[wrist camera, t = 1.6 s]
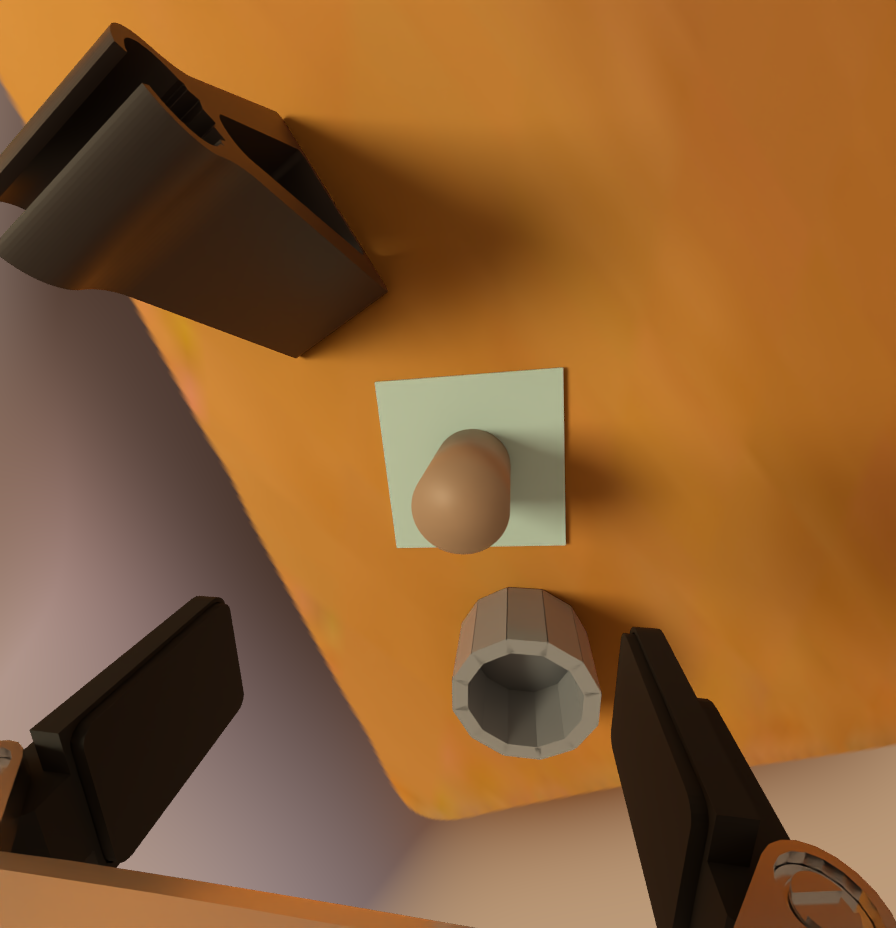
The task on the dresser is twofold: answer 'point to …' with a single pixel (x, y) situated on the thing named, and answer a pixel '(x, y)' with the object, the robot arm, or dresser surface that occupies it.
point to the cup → (525, 675)
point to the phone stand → (180, 203)
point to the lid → (475, 459)
